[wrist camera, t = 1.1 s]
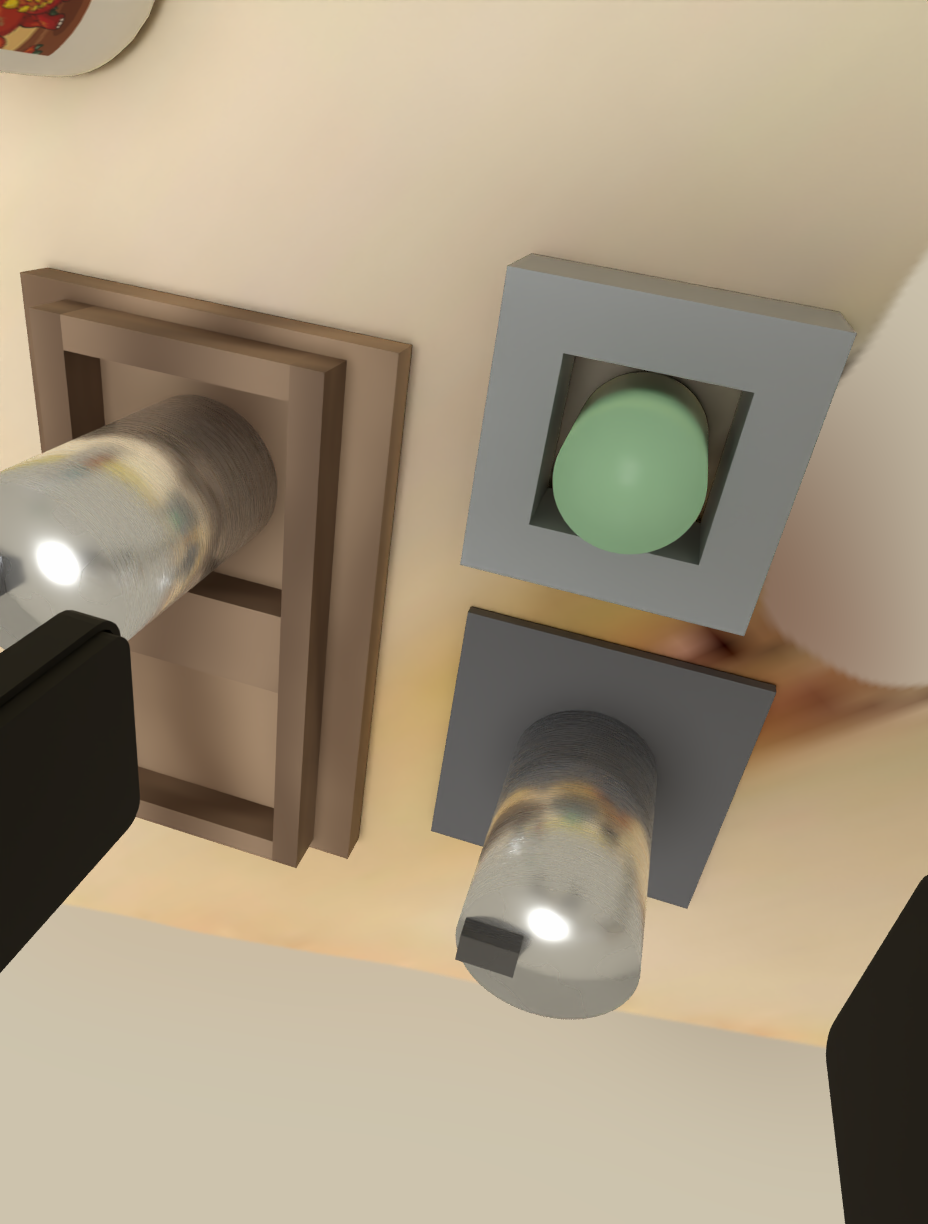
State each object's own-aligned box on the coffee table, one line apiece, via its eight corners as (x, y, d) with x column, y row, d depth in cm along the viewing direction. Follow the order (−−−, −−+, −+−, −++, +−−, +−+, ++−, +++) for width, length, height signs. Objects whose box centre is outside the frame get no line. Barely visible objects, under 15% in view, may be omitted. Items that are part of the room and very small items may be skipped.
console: (839, 312, 21) (856, 333, 18) (740, 587, 25) (744, 636, 22) (531, 253, 22) (507, 265, 20) (484, 525, 26) (460, 564, 24)
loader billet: (279, 413, 25) (99, 519, 18) (275, 561, 27) (115, 707, 20) (130, 378, 26) (-103, 466, 18) (138, 525, 28) (-62, 654, 21)
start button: (725, 387, 22) (727, 427, 19) (687, 513, 24) (682, 569, 20) (590, 359, 22) (569, 393, 19) (563, 484, 24) (539, 534, 21)
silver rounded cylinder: (674, 733, 28) (661, 941, 20) (637, 841, 30) (613, 1060, 23) (528, 693, 28) (464, 880, 21) (503, 802, 31) (438, 1002, 24)
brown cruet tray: (412, 345, 24) (378, 365, 22) (358, 838, 34) (331, 888, 32) (47, 267, 26) (-20, 278, 24) (98, 757, 36) (55, 799, 34)
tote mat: (775, 685, 26) (776, 692, 26) (687, 900, 31) (687, 908, 31) (470, 606, 28) (467, 612, 27) (434, 823, 33) (430, 830, 32)
